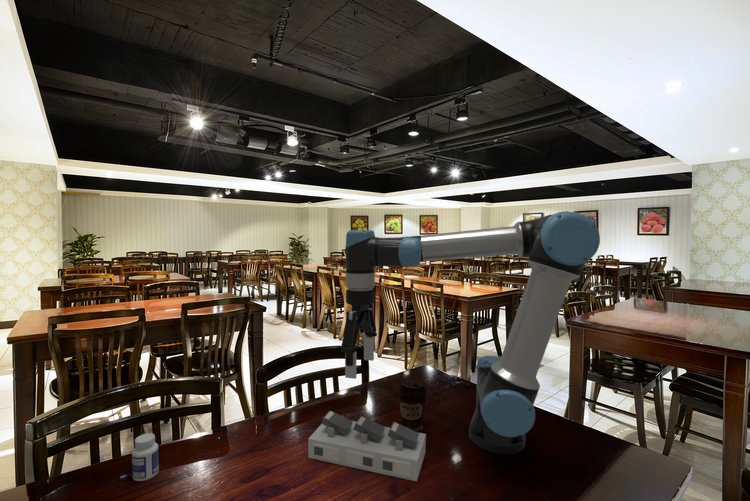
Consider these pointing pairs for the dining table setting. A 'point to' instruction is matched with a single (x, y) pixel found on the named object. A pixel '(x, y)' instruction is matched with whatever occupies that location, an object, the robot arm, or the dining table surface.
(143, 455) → the pill bottle
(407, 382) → the coffee cup
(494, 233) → the robot arm
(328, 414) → the switch
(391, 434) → the switch
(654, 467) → the dining table surface
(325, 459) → the console
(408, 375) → the dining table surface
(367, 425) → the switch
